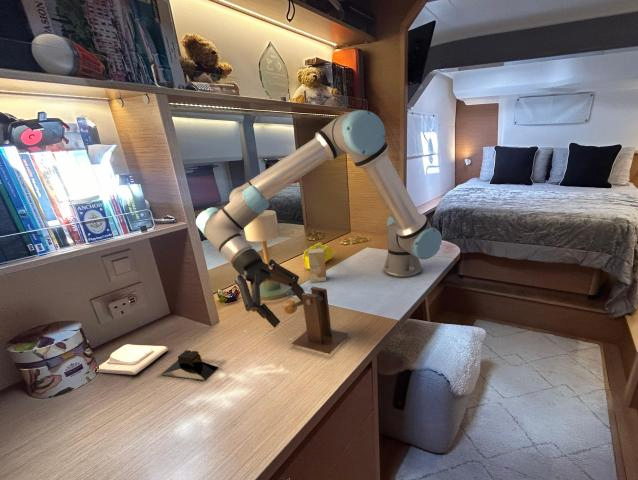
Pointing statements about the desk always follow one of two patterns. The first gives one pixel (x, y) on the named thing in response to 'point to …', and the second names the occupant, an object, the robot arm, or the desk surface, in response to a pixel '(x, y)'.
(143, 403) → the desk surface
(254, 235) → the lamp
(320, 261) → the cosmetic box
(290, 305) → the lever with ball knob
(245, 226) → the robot arm
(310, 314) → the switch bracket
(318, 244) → the yellow toy chassis
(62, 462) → the desk surface
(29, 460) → the desk surface
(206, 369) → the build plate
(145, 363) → the light switch
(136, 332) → the desk surface
